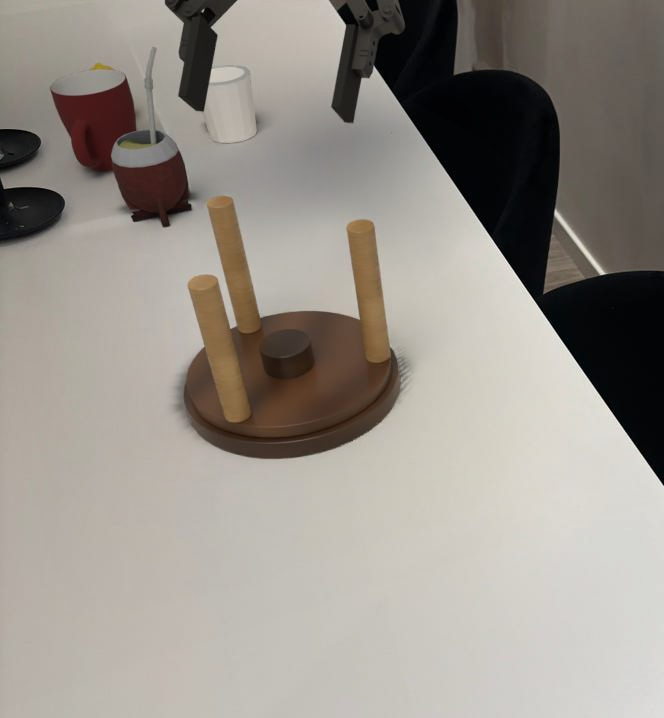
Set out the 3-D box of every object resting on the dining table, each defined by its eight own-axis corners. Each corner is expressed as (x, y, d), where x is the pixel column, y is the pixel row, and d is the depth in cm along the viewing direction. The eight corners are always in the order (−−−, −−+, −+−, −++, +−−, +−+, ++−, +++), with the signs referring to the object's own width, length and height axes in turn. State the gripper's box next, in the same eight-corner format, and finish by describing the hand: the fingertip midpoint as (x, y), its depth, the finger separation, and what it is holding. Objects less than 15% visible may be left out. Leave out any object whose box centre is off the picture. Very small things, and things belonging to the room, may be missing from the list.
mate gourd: (133, 235, 99) (85, 84, 89) (124, 204, 104) (78, 58, 94) (205, 220, 101) (167, 70, 90) (193, 190, 106) (155, 46, 96)
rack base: (173, 363, 81) (168, 347, 80) (365, 316, 86) (363, 301, 84) (208, 483, 70) (203, 467, 69) (429, 422, 74) (427, 406, 73)
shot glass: (242, 118, 121) (230, 59, 116) (272, 132, 117) (261, 72, 112) (194, 134, 118) (180, 75, 113) (224, 150, 114) (210, 88, 109)
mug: (138, 195, 106) (110, 102, 99) (65, 199, 106) (32, 106, 99) (158, 156, 114) (134, 67, 107) (90, 159, 114) (62, 71, 107)
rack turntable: (151, 422, 73) (101, 279, 64) (243, 312, 84) (210, 178, 76) (350, 450, 69) (324, 303, 61) (418, 331, 80) (403, 193, 72)
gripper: (472, -119, 78) (424, 140, 78) (201, -121, 84) (157, 119, 84) (445, -189, 70) (393, 97, 71) (151, -185, 77) (103, 77, 77)
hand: (264, 110), depth 77 cm, fingers open, 13 cm apart
